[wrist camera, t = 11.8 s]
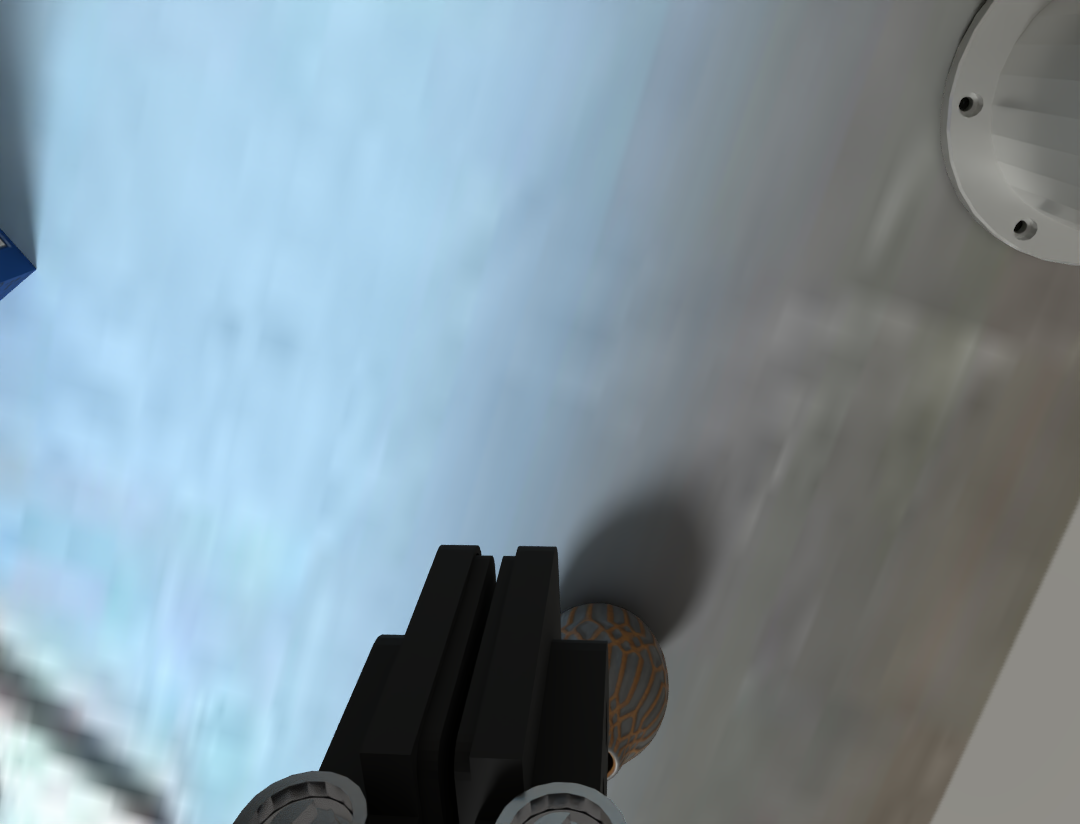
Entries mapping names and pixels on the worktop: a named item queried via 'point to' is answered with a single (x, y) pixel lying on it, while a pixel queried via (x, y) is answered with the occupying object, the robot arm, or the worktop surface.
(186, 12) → the worktop surface
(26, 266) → the pasta box
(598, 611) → the vase
